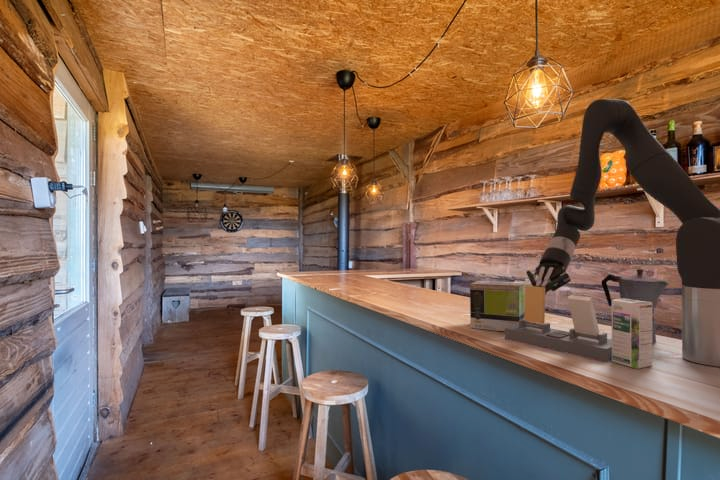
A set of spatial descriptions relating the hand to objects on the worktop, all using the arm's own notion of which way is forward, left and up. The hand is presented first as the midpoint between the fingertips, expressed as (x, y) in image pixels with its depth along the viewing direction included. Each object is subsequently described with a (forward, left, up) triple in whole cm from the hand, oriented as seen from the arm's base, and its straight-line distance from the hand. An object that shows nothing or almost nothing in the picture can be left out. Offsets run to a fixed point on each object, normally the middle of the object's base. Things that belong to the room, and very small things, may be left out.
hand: (536, 299), depth 107 cm
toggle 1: (0, +2, -7) cm, 7 cm away
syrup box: (-24, +4, -12) cm, 27 cm away
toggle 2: (-14, +2, -7) cm, 16 cm away
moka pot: (-17, -20, -12) cm, 29 cm away
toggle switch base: (-7, +2, -11) cm, 14 cm away
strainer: (+13, -16, -12) cm, 24 cm away
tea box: (+15, -3, -12) cm, 19 cm away
